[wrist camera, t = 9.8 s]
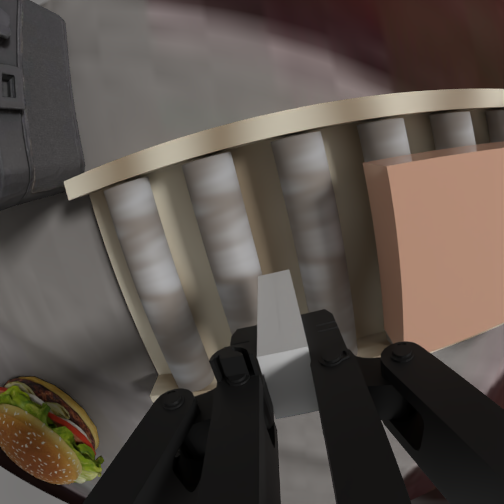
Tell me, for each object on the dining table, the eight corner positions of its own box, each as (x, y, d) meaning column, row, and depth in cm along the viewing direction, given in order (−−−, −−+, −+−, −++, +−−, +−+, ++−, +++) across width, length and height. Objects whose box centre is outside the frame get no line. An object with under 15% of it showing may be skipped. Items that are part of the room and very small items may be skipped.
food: (60, 457, 30) (37, 499, 23) (-8, 374, 26) (-44, 413, 19) (137, 457, 28) (117, 513, 21) (58, 358, 25) (14, 412, 17)
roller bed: (166, 381, 24) (139, 450, 17) (88, 176, 20) (17, 192, 12) (528, 286, 21) (580, 323, 14) (518, 94, 16) (584, 88, 9)
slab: (384, 328, 18) (403, 360, 15) (362, 162, 16) (386, 166, 12) (538, 272, 17) (566, 290, 14) (535, 138, 14) (569, 141, 11)
